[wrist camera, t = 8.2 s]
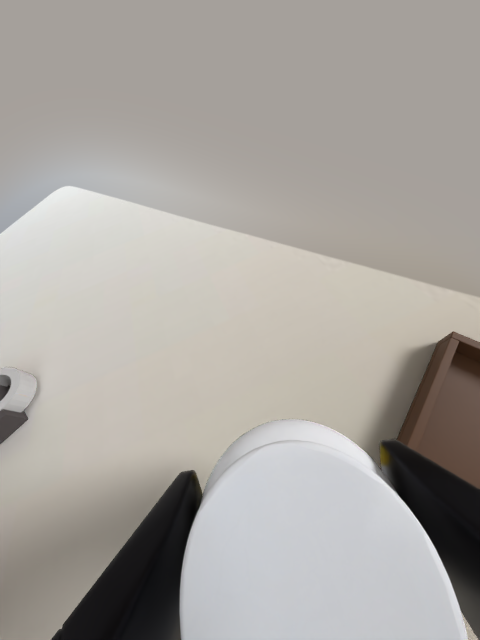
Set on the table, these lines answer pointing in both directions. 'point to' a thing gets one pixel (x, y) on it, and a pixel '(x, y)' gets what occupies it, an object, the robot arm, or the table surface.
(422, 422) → the tray
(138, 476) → the table surface
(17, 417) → the electronic device
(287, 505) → the supplement bottle
